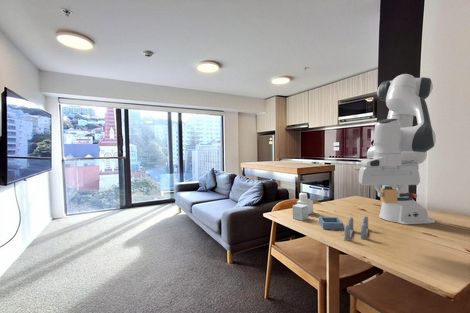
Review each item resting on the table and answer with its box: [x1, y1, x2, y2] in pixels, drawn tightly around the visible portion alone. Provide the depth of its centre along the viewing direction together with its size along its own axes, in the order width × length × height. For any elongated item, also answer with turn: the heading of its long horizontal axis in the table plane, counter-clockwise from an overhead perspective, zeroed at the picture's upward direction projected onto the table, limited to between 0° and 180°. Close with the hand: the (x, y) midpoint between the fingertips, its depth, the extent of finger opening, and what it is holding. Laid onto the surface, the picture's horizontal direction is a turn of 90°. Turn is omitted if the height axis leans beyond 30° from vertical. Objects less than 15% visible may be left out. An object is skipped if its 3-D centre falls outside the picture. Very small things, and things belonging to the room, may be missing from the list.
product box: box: [292, 203, 309, 222], centre depth 120 cm, size 6×6×7 cm
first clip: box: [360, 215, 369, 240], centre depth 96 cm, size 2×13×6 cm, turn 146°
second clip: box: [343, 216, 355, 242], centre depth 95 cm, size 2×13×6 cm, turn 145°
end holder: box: [318, 216, 344, 231], centre depth 107 cm, size 9×9×3 cm
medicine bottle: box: [296, 191, 314, 216], centre depth 130 cm, size 7×7×12 cm
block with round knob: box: [379, 186, 397, 203], centre depth 84 cm, size 4×4×6 cm
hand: (388, 196), depth 85 cm, fingers closed on block with round knob, 4 cm apart
